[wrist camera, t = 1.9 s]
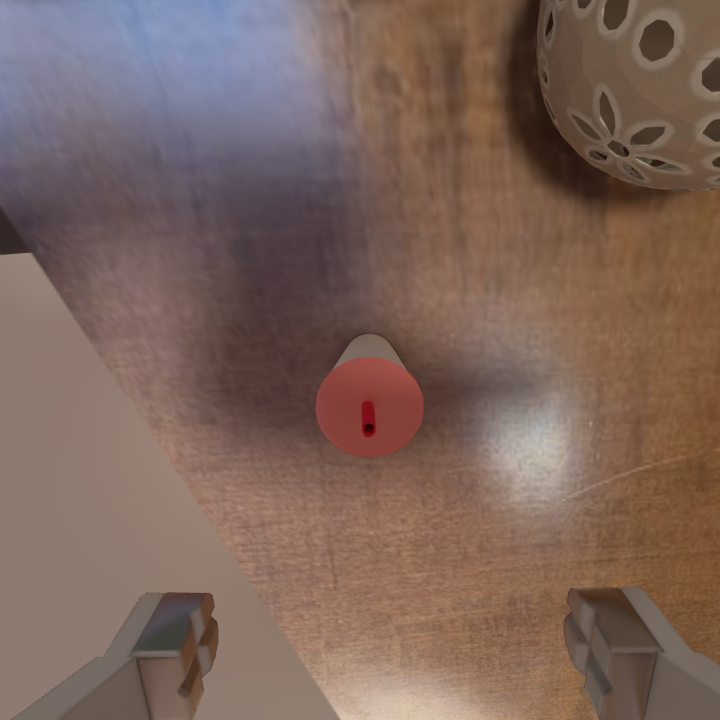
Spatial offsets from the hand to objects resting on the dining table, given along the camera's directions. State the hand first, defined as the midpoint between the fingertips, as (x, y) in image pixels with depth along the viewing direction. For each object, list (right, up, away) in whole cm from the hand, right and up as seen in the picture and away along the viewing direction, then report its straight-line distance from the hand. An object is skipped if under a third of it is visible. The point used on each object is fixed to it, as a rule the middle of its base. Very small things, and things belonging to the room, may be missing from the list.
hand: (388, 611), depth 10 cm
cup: (0, +6, +21) cm, 21 cm away
